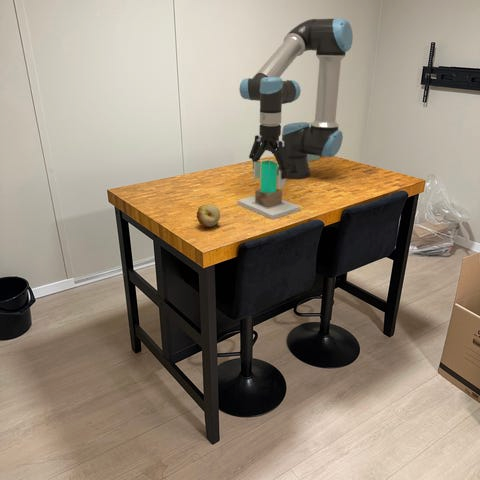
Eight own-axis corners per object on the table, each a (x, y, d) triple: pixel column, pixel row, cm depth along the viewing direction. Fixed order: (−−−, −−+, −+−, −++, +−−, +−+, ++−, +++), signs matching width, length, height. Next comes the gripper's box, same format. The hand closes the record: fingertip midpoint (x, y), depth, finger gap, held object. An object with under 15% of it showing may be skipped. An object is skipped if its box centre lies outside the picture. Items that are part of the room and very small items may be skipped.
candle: (259, 188, 174) (260, 156, 169) (275, 187, 174) (276, 156, 169) (261, 193, 168) (262, 161, 163) (277, 192, 169) (278, 160, 164)
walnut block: (255, 202, 174) (255, 190, 172) (269, 198, 178) (269, 186, 176) (267, 207, 169) (268, 194, 167) (281, 203, 173) (282, 190, 171)
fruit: (193, 229, 155) (192, 207, 152) (204, 220, 162) (203, 199, 159) (214, 232, 153) (213, 210, 149) (224, 223, 160) (223, 201, 156)
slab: (237, 204, 177) (237, 200, 177) (264, 196, 185) (264, 192, 184) (272, 219, 163) (272, 215, 162) (300, 210, 171) (300, 206, 170)
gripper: (239, 120, 168) (239, 176, 177) (287, 131, 150) (285, 193, 159) (255, 118, 172) (254, 173, 181) (303, 128, 154) (300, 188, 163)
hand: (268, 182), depth 170 cm, fingers open, 13 cm apart
